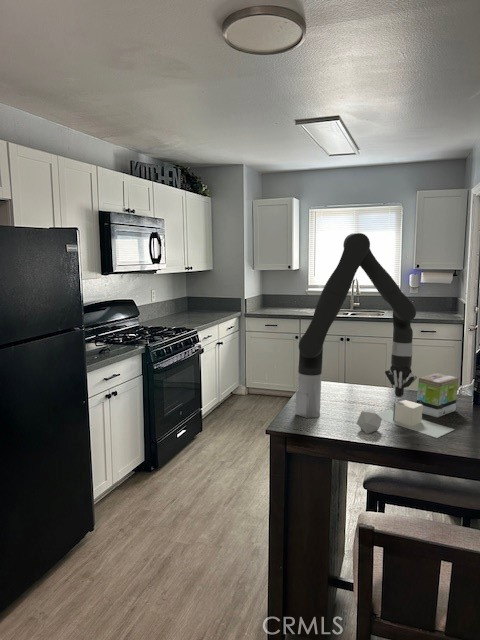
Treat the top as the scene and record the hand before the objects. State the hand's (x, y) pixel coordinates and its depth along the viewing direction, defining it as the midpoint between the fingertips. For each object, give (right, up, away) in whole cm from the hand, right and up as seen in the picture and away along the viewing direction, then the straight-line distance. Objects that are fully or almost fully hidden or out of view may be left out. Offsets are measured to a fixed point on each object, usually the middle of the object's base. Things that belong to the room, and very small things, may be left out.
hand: (399, 396), depth 182 cm
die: (-15, -11, -12) cm, 22 cm away
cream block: (0, -5, +1) cm, 5 cm away
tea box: (+19, -8, +11) cm, 24 cm away
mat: (+3, -10, -3) cm, 11 cm away
